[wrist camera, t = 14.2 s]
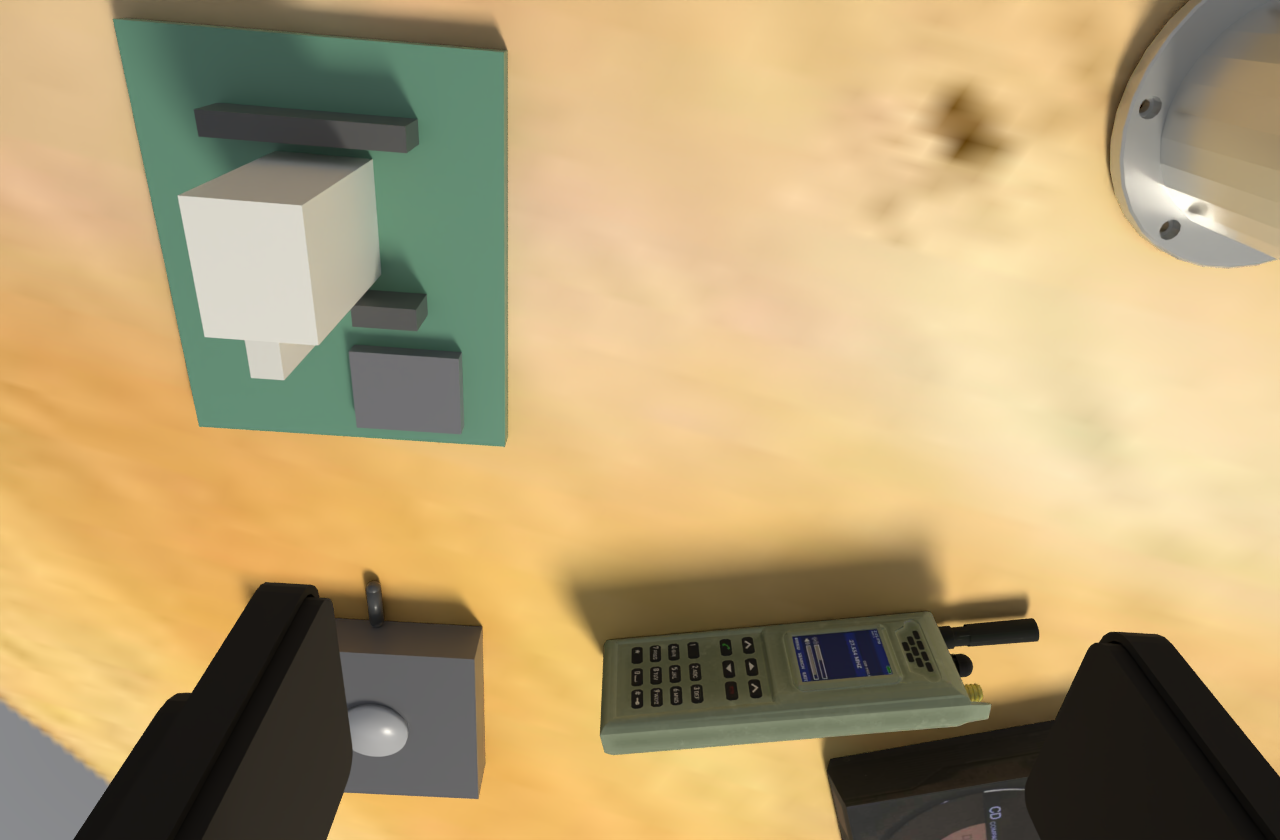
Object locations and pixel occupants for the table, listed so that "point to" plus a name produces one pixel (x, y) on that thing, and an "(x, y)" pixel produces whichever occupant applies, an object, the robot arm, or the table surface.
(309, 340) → the plug
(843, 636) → the handheld radio
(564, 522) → the table surface
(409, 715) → the gray dome slab
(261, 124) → the board
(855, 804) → the portable cd player
